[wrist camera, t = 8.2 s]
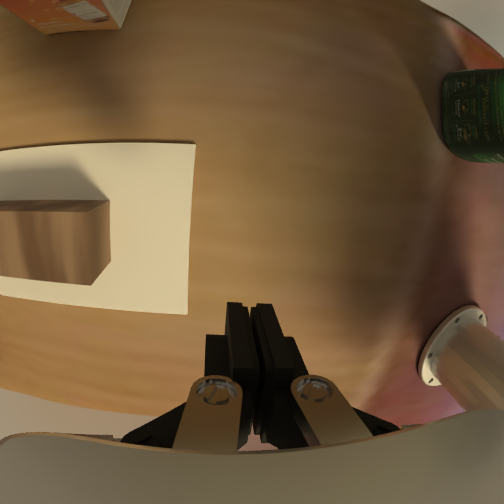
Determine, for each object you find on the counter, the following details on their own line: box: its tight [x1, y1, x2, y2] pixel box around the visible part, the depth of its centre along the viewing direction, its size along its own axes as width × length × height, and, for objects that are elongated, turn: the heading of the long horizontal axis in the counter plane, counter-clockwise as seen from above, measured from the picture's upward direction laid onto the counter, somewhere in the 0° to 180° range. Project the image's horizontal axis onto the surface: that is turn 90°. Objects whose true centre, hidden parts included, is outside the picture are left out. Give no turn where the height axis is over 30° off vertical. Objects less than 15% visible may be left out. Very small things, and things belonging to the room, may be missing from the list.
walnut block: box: [0, 200, 111, 286], centre depth 19 cm, size 5×5×12 cm
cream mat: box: [0, 143, 196, 314], centre depth 22 cm, size 21×14×1 cm, turn 84°
